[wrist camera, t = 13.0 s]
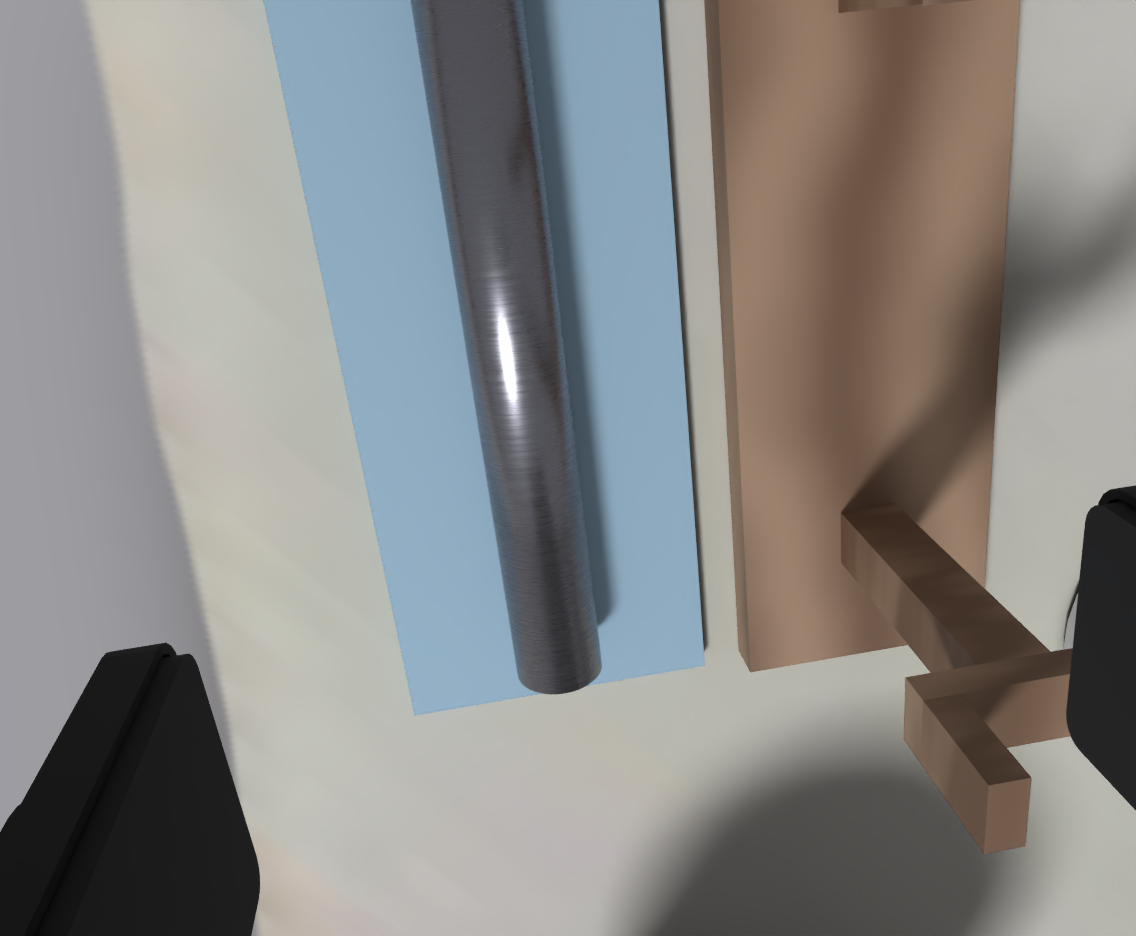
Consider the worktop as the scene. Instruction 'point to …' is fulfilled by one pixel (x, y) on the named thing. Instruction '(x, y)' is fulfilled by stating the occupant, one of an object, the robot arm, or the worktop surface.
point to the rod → (512, 327)
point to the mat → (436, 342)
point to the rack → (876, 363)
